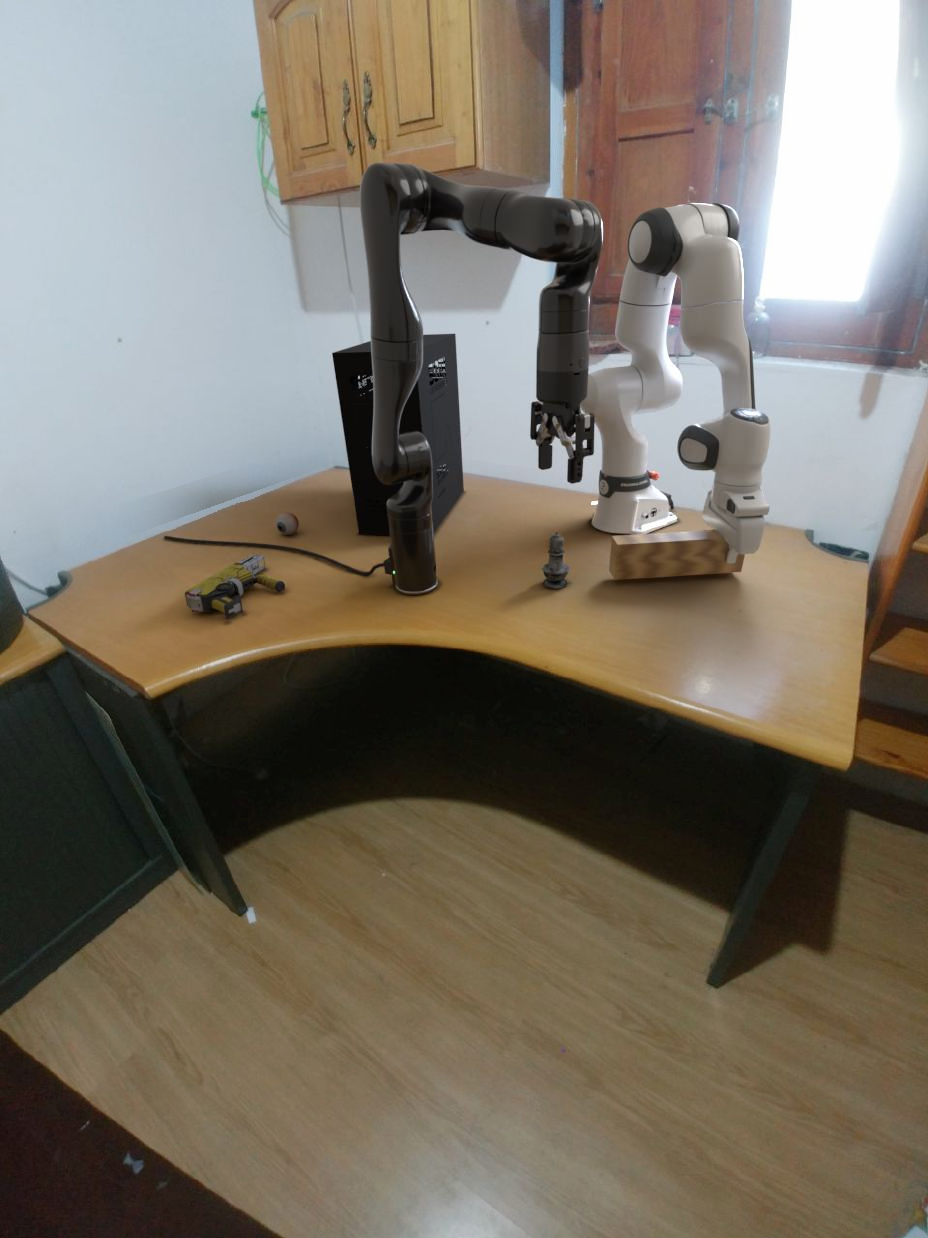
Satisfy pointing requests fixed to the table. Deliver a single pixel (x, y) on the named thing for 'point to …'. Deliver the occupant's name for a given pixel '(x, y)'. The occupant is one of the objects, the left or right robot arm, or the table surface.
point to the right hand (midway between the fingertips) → (723, 556)
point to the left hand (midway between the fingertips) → (559, 475)
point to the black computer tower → (402, 429)
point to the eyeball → (287, 523)
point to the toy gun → (230, 587)
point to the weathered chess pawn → (555, 564)
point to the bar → (670, 555)
